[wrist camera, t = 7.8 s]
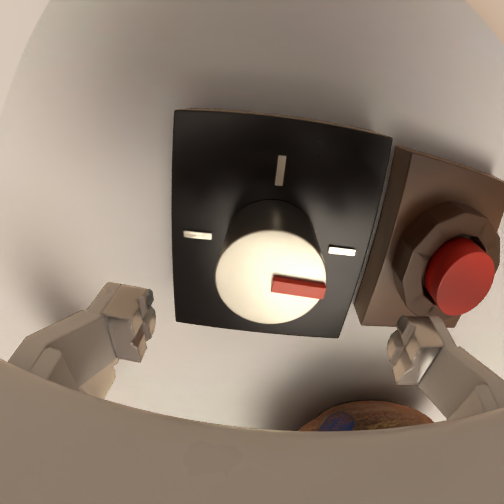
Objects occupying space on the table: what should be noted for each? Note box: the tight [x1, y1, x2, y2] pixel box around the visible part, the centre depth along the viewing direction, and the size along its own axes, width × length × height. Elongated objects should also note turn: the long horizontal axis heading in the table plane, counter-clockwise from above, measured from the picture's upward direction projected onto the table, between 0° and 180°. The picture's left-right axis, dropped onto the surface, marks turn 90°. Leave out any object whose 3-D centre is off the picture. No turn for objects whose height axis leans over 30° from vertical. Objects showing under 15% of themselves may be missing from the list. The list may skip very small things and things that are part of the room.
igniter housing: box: [354, 146, 504, 328], centre depth 16 cm, size 11×8×4 cm
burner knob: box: [215, 200, 327, 324], centre depth 13 cm, size 4×4×4 cm
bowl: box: [298, 401, 434, 432], centre depth 23 cm, size 18×18×10 cm
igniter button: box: [424, 237, 495, 316], centre depth 14 cm, size 4×4×2 cm
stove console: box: [172, 108, 393, 338], centre depth 16 cm, size 12×10×3 cm
